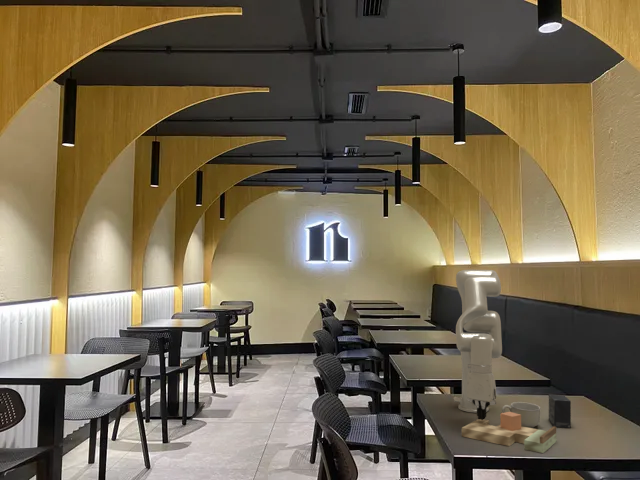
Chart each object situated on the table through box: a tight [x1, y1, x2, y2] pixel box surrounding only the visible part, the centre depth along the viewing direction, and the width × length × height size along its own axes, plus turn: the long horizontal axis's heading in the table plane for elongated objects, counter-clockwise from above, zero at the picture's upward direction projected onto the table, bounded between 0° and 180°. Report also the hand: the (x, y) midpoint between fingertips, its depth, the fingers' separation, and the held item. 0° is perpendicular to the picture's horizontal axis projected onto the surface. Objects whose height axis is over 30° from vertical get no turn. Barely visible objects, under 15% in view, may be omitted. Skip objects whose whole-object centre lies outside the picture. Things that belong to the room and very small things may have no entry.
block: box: [499, 411, 521, 431], centre depth 194 cm, size 5×5×5 cm
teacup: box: [501, 401, 541, 429], centre depth 208 cm, size 14×11×8 cm
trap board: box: [461, 418, 558, 454], centre depth 191 cm, size 28×16×5 cm, turn 52°
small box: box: [548, 393, 572, 429], centre depth 211 cm, size 11×6×10 cm, turn 168°
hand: (481, 418), depth 201 cm, fingers closed
